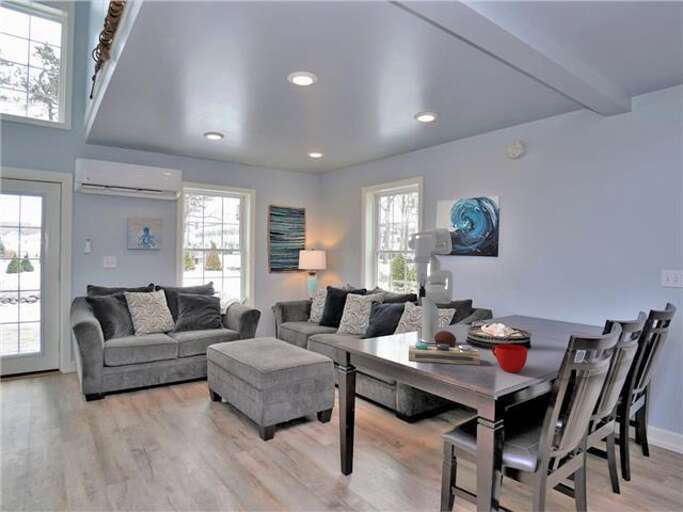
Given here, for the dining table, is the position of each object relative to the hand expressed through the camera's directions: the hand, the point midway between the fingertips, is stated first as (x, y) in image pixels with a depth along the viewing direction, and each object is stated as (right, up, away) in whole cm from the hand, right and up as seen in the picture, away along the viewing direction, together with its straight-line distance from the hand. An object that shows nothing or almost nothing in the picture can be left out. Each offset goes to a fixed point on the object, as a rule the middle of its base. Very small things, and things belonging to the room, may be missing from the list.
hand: (422, 296), depth 210 cm
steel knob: (+17, -29, -13) cm, 36 cm away
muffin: (+13, -29, +8) cm, 33 cm away
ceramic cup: (+32, -30, -26) cm, 51 cm away
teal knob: (-2, -29, -9) cm, 30 cm away
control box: (+8, -29, -11) cm, 32 cm away
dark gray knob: (+8, -29, -11) cm, 32 cm away
